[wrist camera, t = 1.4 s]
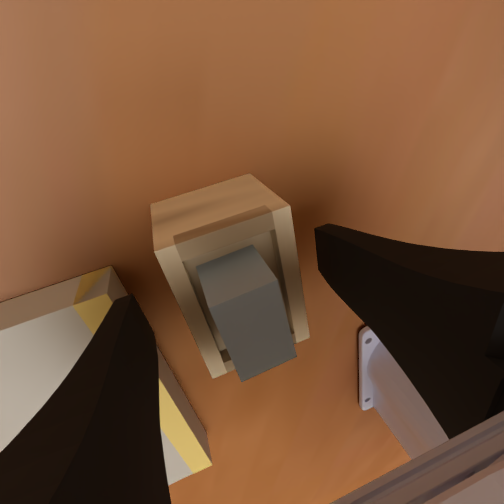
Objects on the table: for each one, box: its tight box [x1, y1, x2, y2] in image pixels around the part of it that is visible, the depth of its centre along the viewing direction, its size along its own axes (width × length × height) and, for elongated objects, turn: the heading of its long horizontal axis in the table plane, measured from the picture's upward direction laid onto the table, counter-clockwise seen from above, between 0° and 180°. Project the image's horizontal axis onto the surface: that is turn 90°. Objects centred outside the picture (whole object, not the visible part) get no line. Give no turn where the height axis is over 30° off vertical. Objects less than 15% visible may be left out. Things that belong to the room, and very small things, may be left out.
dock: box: [0, 265, 212, 485], centre depth 14 cm, size 14×9×2 cm, turn 12°
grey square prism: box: [196, 244, 297, 382], centre depth 10 cm, size 3×2×2 cm, turn 14°
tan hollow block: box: [150, 173, 310, 378], centre depth 12 cm, size 6×4×4 cm
